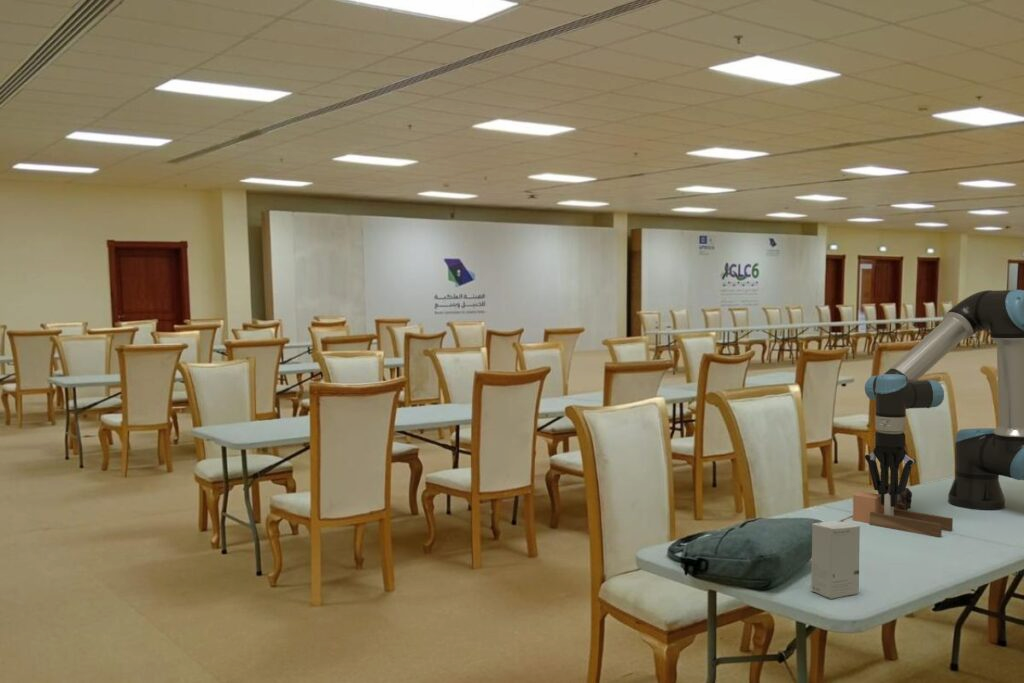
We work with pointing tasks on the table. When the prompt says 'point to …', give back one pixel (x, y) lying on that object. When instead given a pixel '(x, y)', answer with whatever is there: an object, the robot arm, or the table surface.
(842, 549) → the skincare box
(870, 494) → the block
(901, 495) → the rock
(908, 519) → the chute
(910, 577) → the table surface
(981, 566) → the table surface
